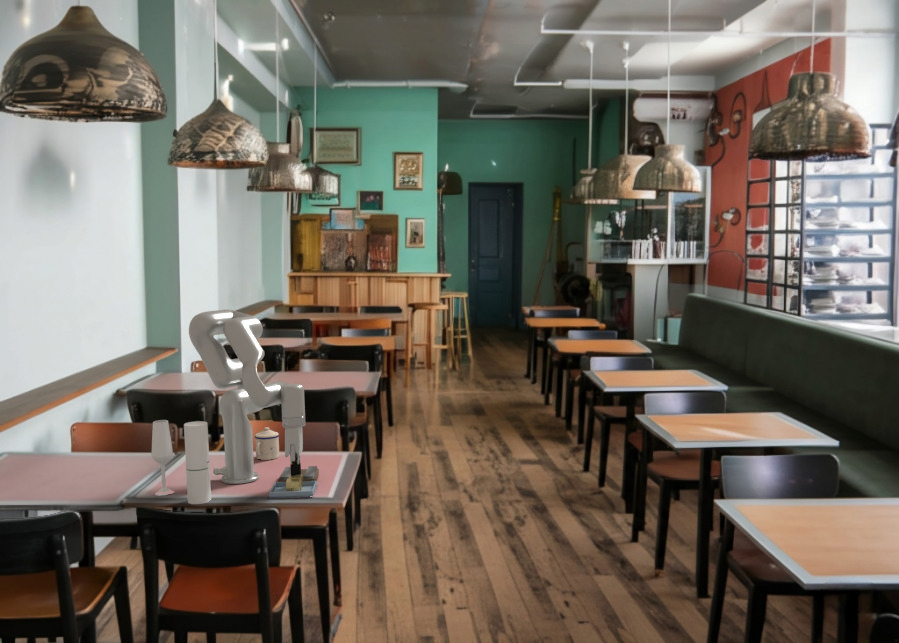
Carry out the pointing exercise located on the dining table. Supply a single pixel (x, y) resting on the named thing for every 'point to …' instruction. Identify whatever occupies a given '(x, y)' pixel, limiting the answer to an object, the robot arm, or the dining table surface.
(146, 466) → the dining table surface
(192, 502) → the cylindrical container
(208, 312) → the robot arm
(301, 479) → the light brown cube
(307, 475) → the slot bed
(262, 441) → the teacup with lid
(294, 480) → the tan wooden cube
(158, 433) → the champagne flute
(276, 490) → the tray
